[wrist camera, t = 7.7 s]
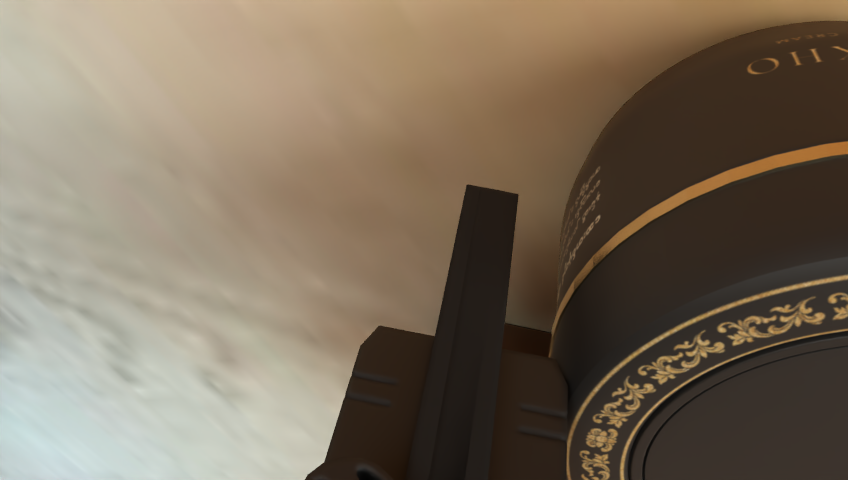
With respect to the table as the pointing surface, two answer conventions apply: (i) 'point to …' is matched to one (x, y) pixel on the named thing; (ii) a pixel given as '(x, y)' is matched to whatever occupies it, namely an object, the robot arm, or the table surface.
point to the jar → (713, 270)
